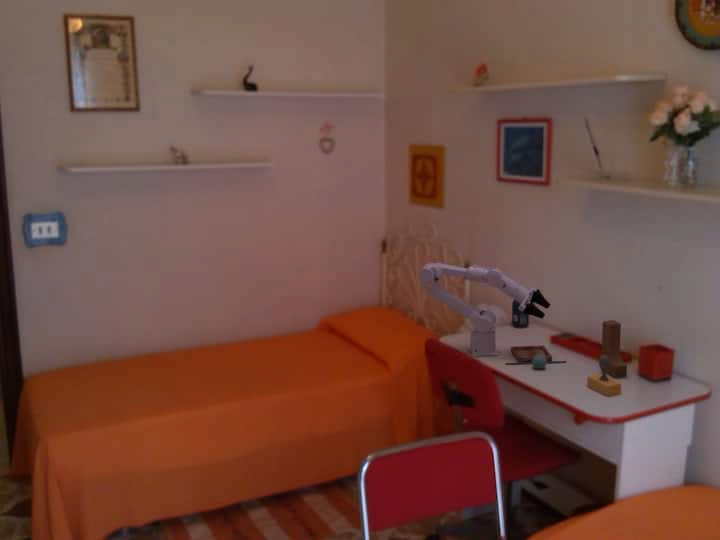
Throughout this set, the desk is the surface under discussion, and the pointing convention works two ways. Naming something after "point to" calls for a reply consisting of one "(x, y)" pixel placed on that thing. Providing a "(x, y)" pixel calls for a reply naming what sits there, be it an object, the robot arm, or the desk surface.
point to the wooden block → (613, 348)
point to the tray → (529, 353)
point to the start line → (531, 363)
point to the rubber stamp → (604, 380)
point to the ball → (539, 361)
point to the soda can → (519, 316)
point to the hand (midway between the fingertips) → (546, 311)
